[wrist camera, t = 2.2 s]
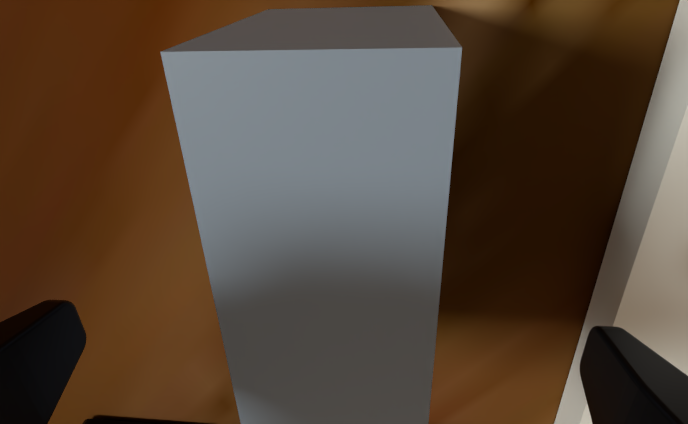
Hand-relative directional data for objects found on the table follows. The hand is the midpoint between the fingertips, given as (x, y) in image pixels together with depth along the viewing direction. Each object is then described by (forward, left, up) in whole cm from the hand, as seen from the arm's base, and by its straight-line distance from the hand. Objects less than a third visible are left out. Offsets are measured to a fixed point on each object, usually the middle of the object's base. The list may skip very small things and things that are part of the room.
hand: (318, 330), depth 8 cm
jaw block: (0, 0, -6) cm, 6 cm away
